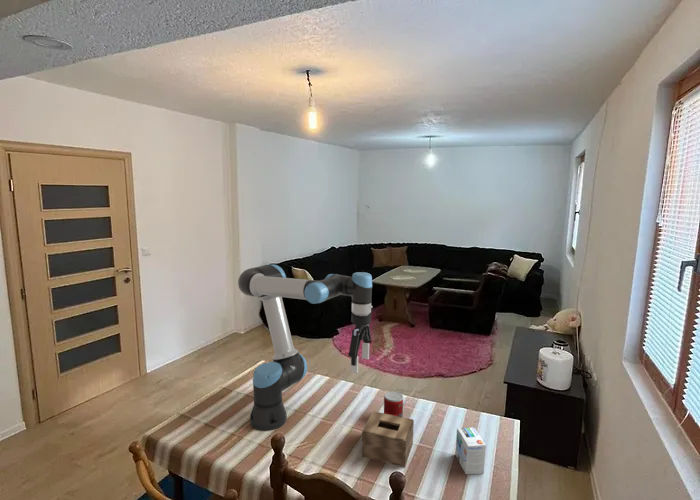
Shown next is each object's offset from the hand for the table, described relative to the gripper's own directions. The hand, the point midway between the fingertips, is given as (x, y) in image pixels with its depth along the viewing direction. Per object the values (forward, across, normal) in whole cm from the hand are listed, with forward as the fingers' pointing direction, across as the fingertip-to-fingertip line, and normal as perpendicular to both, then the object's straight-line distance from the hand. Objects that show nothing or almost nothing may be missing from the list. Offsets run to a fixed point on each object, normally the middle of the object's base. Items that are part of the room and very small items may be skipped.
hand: (360, 365), depth 153 cm
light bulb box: (+28, -4, -43) cm, 52 cm away
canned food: (+28, +13, -11) cm, 33 cm away
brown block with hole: (+28, -7, -14) cm, 32 cm away
